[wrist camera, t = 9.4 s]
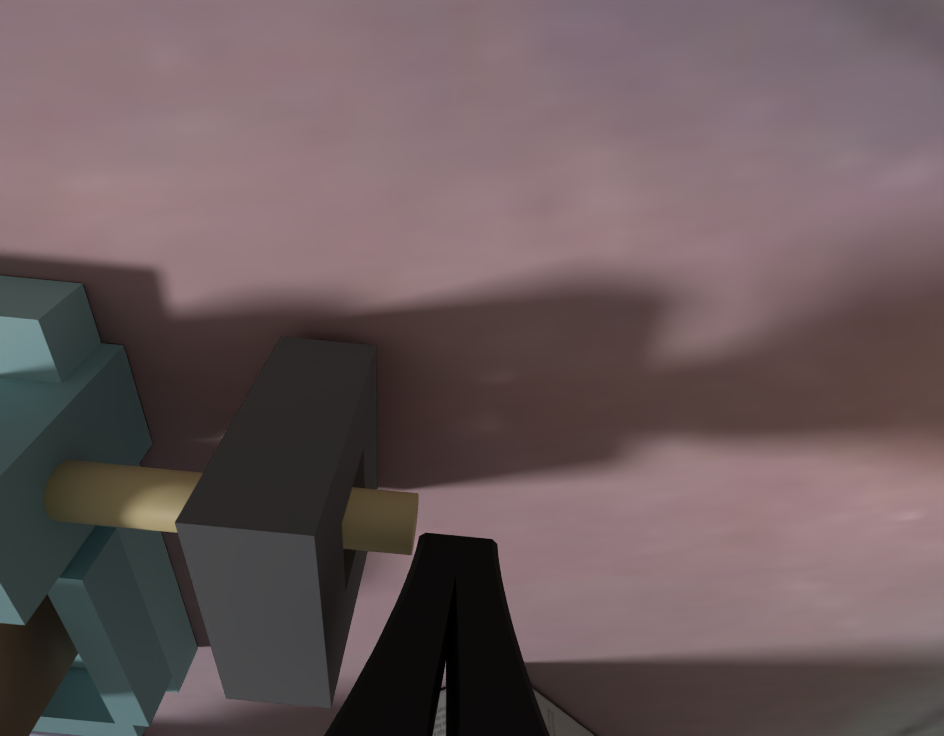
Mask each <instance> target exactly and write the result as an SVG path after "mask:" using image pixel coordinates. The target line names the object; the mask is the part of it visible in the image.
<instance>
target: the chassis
mask: <svg viewBox="0 0 944 736" xmlns="http://www.w3.org/2000/svg"><path fill="white" fill-rule="evenodd" d="M151 445H152V441H151V437H150V434H149V431H148V427H147V424H146V420H145V417H144V413H143V410H142V407H141V403H140V400H139V396H138V393H137V389H136V386H135V383H134V379H133V376H132V372H131V369H130V365H129V362H128V359H127V355H126V352H125V348H124V345H116V344H106V343H101V340H100V337H99V334H98V331H97V328H96V324H95V321H94V318H93V315H92V312H91V309H90V305H89V302H88V299H87V296H86V293H85V290H84V286H83V284H82V283H72V282H62V281H52V280H41V279H31V278H21V277H11V276H1V275H0V623H6V624H17V625H26V623H27V622H28V620H29V619H30V618H31V616H32V615H33V613H34V612H35V610H36V609H37V608H38V606H39V605H40V603H41V602H42V600H43V599H44V598H45V596H46V595H47V594H48V596H49V598H50V600H51V602H52V604H53V606H54V608H55V610H56V611H57V613H58V615H59V617H60V619H61V621H62V623H63V625H64V627H65V629H66V630H67V632H68V634H69V636H70V638H71V640H72V642H73V644H74V646H75V648H76V650H77V651H78V655H77V657H76V658H75V660H74V662H73V663H72V665H71V667H70V668H69V670H68V672H67V673H66V675H65V677H64V678H63V680H62V682H61V683H60V685H59V687H58V688H57V690H56V692H55V693H54V695H53V697H52V698H51V700H50V702H49V703H48V705H47V707H46V708H45V710H44V712H43V713H42V715H41V717H40V718H39V720H38V722H37V723H36V725H35V727H34V728H33V730H32V731H39V732H50V733H61V734H71V735H82V736H143V734H144V731H145V729H146V727H150V724H151V722H152V720H153V718H154V716H155V713H156V711H157V709H158V707H159V705H160V702H161V700H162V698H163V696H164V694H165V691H167V692H178V693H179V690H180V688H181V686H182V683H183V681H184V679H185V677H186V674H187V672H188V670H189V667H190V665H191V663H192V661H193V658H194V656H195V654H196V652H197V649H198V647H197V644H196V641H195V638H194V635H193V632H192V628H191V625H190V622H189V619H188V616H187V613H186V609H185V606H184V603H183V600H182V597H181V594H180V590H179V587H178V584H177V581H176V578H175V575H174V571H173V568H172V565H171V562H170V559H169V556H168V552H167V549H166V546H165V543H164V540H163V537H162V533H161V531H165V532H175V533H178V532H177V529H176V526H175V521H176V519H177V518H178V516H179V514H180V512H181V511H182V509H183V507H184V505H185V504H186V502H187V500H188V498H189V497H190V495H191V493H192V491H193V490H194V488H195V486H196V484H197V483H198V481H199V479H200V477H201V476H202V474H203V473H202V472H191V471H181V470H171V469H160V468H150V467H140V464H139V463H140V461H141V460H142V458H143V457H144V455H145V454H146V453H147V451H148V450H149V448H150V447H151ZM417 513H418V493H409V492H398V491H388V490H378V489H367V488H357V487H352V490H351V493H350V497H349V500H348V504H347V507H346V511H345V514H344V518H343V521H342V537H343V549H352V550H363V551H373V552H383V553H394V554H404V555H412V551H413V545H414V539H415V531H416V523H417Z"/></svg>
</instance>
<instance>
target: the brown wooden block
mask: <svg viewBox="0 0 944 736" xmlns="http://www.w3.org/2000/svg"><path fill="white" fill-rule="evenodd" d="M77 655H78V651H77V650H76V648H75V646H74V644H73V642H72V640H71V638H70V636H69V634H68V632H67V630H66V629H65V627H64V625H63V623H62V621H61V619H60V617H59V615H58V613H57V611H56V610H55V608H54V606H53V604H52V602H51V600H50V598H49V596H48V594H47V595H46V596H45V598H44V599H43V600H42V602H41V603H40V605H39V606H38V608H37V609H36V610H35V612H34V613H33V615H32V616H31V618H30V619H29V620H28V622H27V623H26V625H17V624H6V623H0V736H29V735H30V733H31V732H32V730H33V728H34V727H35V725H36V723H37V722H38V720H39V718H40V717H41V715H42V713H43V712H44V710H45V708H46V707H47V705H48V703H49V702H50V700H51V698H52V697H53V695H54V693H55V692H56V690H57V688H58V687H59V685H60V683H61V682H62V680H63V678H64V677H65V675H66V673H67V672H68V670H69V668H70V667H71V665H72V663H73V662H74V660H75V658H76V657H77Z"/></svg>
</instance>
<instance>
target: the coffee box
mask: <svg viewBox="0 0 944 736" xmlns="http://www.w3.org/2000/svg"><path fill="white" fill-rule="evenodd" d="M533 691H534V694H535V697H536V700H537V702H538V705H539V708H540V711H541V713H542V716H543V719H544V721H545V724H546V727H547V729H548V732H549V734H550V736H594V735H593V734H592V733H591V732H589V731H588V730H587V729H585V728H584V727H582V726H581V725H580V724H579V723H577V722H576V721H575V720H573V719H572V718H571V717H570V716H568V715H567V714H565V713H564V712H563V711H562V710H560V709H559V708H558V707H556V706H555V705H554V704H552V703H551V702H550V701H548V700H547V699H546V698H544V697H543V696H542V695H540V694H539V693H538V692H536V691H535V690H534V689H533ZM433 736H446V689H445V690H442V691H440V697H439V703H438V708H437V714H436V720H435V725H434V731H433Z"/></svg>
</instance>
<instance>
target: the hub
mask: <svg viewBox="0 0 944 736" xmlns="http://www.w3.org/2000/svg"><path fill="white" fill-rule="evenodd" d="M352 487H357V488H367V489H377V361H376V346H375V345H365V344H355V343H345V342H335V341H325V340H314V339H304V338H294V337H284V336H281V337H280V339H279V341H278V343H277V344H276V346H275V348H274V350H273V351H272V353H271V355H270V357H269V358H268V360H267V362H266V364H265V365H264V367H263V369H262V371H261V372H260V374H259V376H258V378H257V379H256V381H255V383H254V385H253V386H252V388H251V390H250V392H249V393H248V395H247V397H246V399H245V400H244V402H243V404H242V406H241V407H240V409H239V411H238V413H237V414H236V416H235V418H234V420H233V421H232V423H231V425H230V427H229V428H228V430H227V432H226V434H225V435H224V437H223V439H222V441H221V442H220V444H219V446H218V448H217V449H216V451H215V453H214V455H213V456H212V458H211V460H210V462H209V463H208V465H207V467H206V469H205V470H204V472H203V474H202V476H201V477H200V479H199V481H198V483H197V484H196V486H195V488H194V490H193V491H192V493H191V495H190V497H189V498H188V500H187V502H186V504H185V505H184V507H183V509H182V511H181V512H180V514H179V516H178V518H177V519H176V521H175V526H176V529H177V532H178V536H179V539H180V543H181V546H182V550H183V553H184V556H185V560H186V563H187V567H188V570H189V573H190V577H191V580H192V584H193V587H194V591H195V594H196V597H197V601H198V604H199V608H200V611H201V614H202V618H203V621H204V625H205V628H206V632H207V635H208V638H209V642H210V645H211V649H212V652H213V655H214V659H215V662H216V666H217V669H218V673H219V676H220V679H221V683H222V686H223V690H224V693H225V696H226V699H237V700H247V701H258V702H269V703H279V704H290V705H300V706H311V707H322V708H331V707H332V703H333V698H334V694H335V690H336V685H337V681H338V677H339V672H340V668H341V664H342V659H343V655H344V651H345V646H346V642H347V638H348V633H349V629H350V625H351V621H352V616H353V612H354V608H355V603H356V599H357V595H358V590H359V586H360V582H361V577H362V573H363V569H364V564H365V560H366V556H367V551H363V550H352V549H343V537H342V521H343V518H344V514H345V511H346V507H347V504H348V500H349V497H350V493H351V490H352Z"/></svg>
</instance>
